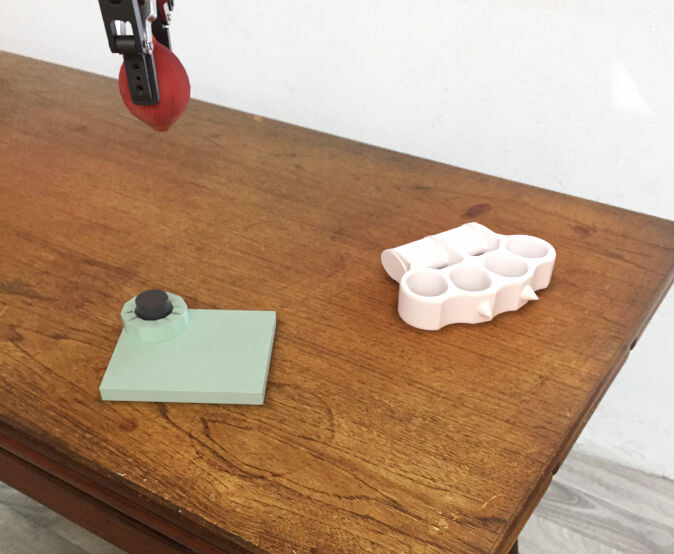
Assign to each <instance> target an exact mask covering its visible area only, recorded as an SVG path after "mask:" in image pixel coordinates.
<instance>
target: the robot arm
mask: <svg viewBox="0 0 674 554" xmlns="http://www.w3.org/2000/svg"><path fill="white" fill-rule="evenodd" d="M97 2H98V7H99V10H100V14H101V18H102V23H103V26H104V31H105V34H106V38H107V41H108V43H107V44H108V48H109V50H110V52H111V54H118V55H119V56H122V60H123V61H124V66H125V71H126V76H127V81H128V87H129V92H130V97H131V101H132V102H133V103H134V104H135V105H156V104H157V103H158V101H159V99H160V94H159V87H158V81H157V75H156V69H155V63H154V57H153V53H152V51H153V43H152V35H153V36H154V38H155V39H156V41H157V42H159V43H160V44H162V45H164V46H165V47H167V48H168V49H170V50H171V51H172V52H173V48H172V40H171V34H170V27H169V26H171V22H172V14H171V12H173V11H174V7H175V0H97ZM127 23H129V24H130V27H131V31H132V34H127V27H126V25H127Z"/></svg>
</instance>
